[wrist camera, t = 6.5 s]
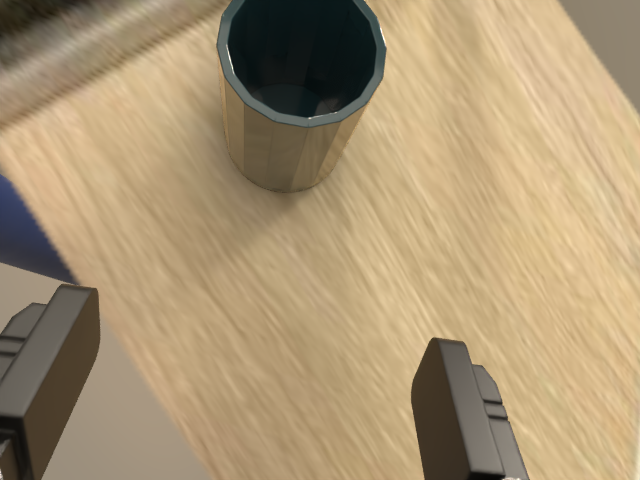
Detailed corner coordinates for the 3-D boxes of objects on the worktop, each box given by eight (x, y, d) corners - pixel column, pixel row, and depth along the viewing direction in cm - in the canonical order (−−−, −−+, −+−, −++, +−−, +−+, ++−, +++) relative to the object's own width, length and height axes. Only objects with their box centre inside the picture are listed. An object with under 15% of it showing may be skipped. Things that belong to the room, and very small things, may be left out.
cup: (216, 182, 29) (203, 108, 20) (236, 72, 30) (232, -46, 21) (334, 201, 29) (376, 139, 20) (348, 93, 31) (393, -12, 21)
